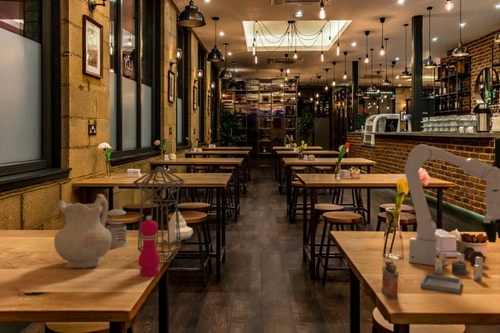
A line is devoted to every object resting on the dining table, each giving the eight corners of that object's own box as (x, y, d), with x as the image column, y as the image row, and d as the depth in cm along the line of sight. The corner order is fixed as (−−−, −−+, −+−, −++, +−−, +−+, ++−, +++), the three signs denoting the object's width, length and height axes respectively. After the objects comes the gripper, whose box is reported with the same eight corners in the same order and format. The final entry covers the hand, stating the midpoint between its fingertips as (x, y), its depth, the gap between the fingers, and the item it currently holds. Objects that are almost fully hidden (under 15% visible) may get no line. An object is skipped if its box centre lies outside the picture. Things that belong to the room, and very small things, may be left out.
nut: (451, 274, 158) (451, 264, 158) (452, 270, 163) (452, 260, 163) (465, 276, 156) (465, 266, 156) (466, 272, 161) (466, 262, 161)
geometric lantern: (131, 263, 169) (129, 168, 166) (151, 252, 184) (150, 165, 181) (170, 267, 164) (169, 169, 162) (188, 255, 179) (187, 166, 177)
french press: (133, 244, 198) (133, 186, 196) (112, 249, 188) (111, 188, 186) (117, 241, 203) (117, 184, 201) (96, 246, 193) (95, 187, 191)
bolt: (467, 259, 184) (479, 269, 169) (455, 252, 185) (466, 261, 170) (475, 247, 183) (487, 256, 169) (463, 240, 184) (475, 248, 169)
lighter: (379, 290, 142) (380, 258, 141) (389, 290, 142) (390, 258, 141) (389, 300, 134) (390, 266, 133) (400, 299, 134) (401, 266, 133)
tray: (420, 287, 144) (420, 283, 144) (425, 278, 154) (425, 273, 154) (459, 293, 139) (459, 288, 139) (461, 283, 149) (461, 278, 149)
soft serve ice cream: (156, 246, 201) (152, 213, 203) (180, 242, 213) (175, 212, 215) (176, 242, 194) (172, 209, 196) (200, 239, 206) (195, 207, 208)
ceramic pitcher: (80, 256, 181) (74, 193, 179) (126, 256, 177) (120, 191, 175) (45, 273, 160) (38, 202, 158) (96, 273, 156) (89, 200, 154)
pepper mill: (164, 272, 159) (163, 214, 157) (153, 278, 152) (152, 218, 150) (145, 269, 161) (145, 213, 160) (134, 275, 154) (133, 216, 153)
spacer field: (434, 275, 157) (434, 260, 157) (439, 264, 170) (439, 251, 170) (481, 281, 150) (482, 266, 150) (482, 270, 164) (483, 256, 163)
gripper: (497, 205, 154) (499, 245, 155) (516, 200, 163) (518, 238, 164) (476, 204, 160) (478, 242, 160) (496, 199, 169) (497, 235, 169)
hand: (497, 240), depth 162 cm, fingers open, 7 cm apart
